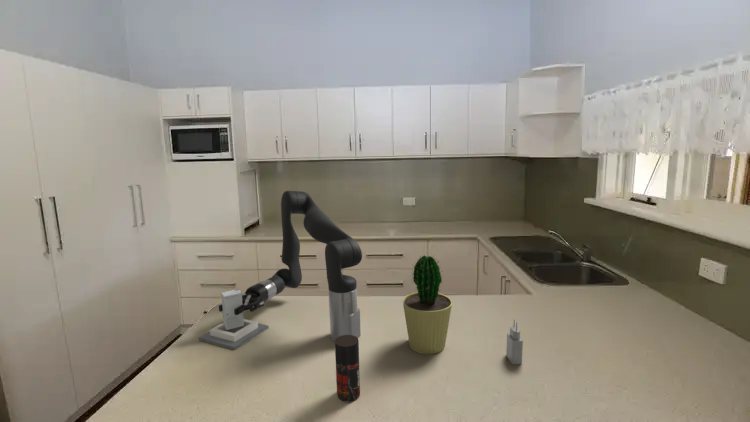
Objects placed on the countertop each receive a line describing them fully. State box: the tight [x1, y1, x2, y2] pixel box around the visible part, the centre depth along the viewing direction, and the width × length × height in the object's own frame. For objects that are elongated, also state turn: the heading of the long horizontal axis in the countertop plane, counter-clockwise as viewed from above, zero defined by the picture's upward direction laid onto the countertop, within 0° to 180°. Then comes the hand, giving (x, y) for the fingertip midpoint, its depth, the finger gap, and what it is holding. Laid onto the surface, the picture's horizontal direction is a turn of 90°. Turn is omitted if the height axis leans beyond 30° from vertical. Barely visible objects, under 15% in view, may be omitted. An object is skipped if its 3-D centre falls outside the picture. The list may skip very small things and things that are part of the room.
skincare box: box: [220, 288, 245, 330], centre depth 131 cm, size 6×4×12 cm
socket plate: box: [198, 318, 270, 351], centre depth 132 cm, size 16×16×3 cm
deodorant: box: [334, 335, 361, 403], centre depth 98 cm, size 6×6×15 cm
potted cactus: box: [402, 254, 453, 355], centre depth 121 cm, size 15×15×30 cm
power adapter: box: [505, 319, 524, 365], centre depth 113 cm, size 3×5×12 cm, turn 1°
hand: (227, 310), depth 129 cm, fingers closed on skincare box, 6 cm apart
